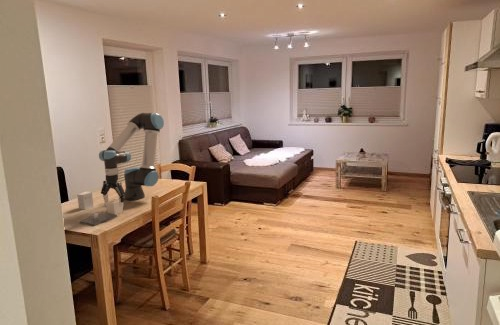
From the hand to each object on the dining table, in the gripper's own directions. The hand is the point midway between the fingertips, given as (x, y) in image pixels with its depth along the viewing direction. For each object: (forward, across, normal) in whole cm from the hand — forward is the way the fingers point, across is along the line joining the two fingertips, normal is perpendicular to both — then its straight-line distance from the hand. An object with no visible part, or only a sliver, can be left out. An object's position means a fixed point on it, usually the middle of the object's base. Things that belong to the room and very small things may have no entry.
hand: (114, 205), depth 234 cm
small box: (+5, -28, +1) cm, 29 cm away
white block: (+5, 0, +1) cm, 5 cm away
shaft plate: (+5, +1, -13) cm, 14 cm away
